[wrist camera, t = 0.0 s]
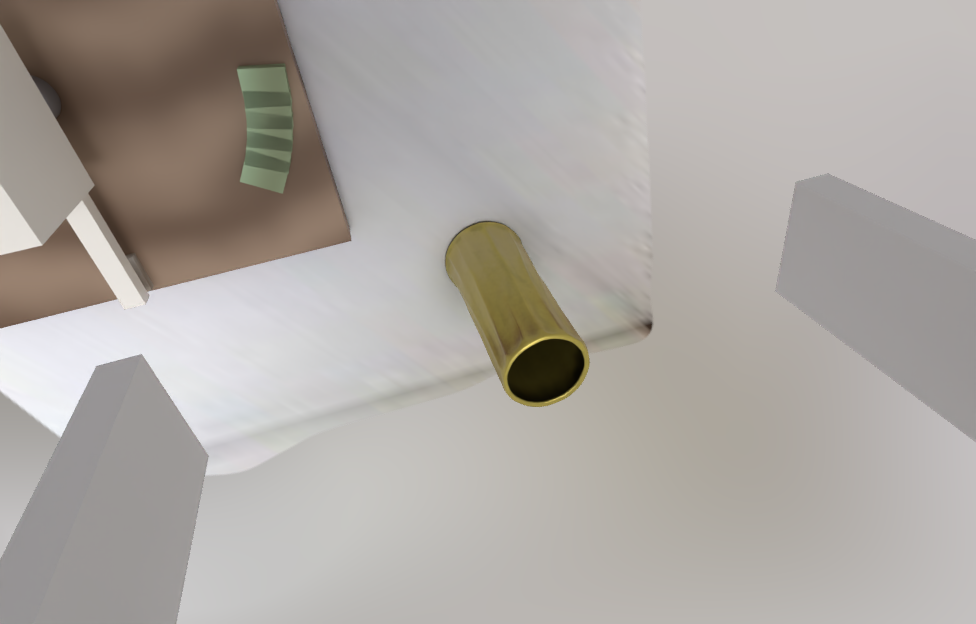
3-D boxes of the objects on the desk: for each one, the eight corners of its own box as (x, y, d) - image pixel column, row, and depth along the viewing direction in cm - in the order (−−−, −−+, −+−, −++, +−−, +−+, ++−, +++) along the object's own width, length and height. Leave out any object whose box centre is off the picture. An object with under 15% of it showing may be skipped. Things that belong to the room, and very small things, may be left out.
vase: (507, 296, 46) (574, 416, 34) (435, 286, 43) (481, 410, 32) (532, 228, 43) (614, 334, 31) (456, 213, 41) (515, 322, 29)
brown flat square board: (-429, -167, 22) (-520, -180, 20) (197, -248, 25) (185, -268, 23) (-22, 319, 36) (-45, 347, 33) (349, 228, 39) (352, 247, 37)
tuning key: (-62, 19, 26) (-228, 55, 18) (21, 4, 26) (-104, 32, 18) (114, 294, 35) (56, 400, 27) (174, 279, 35) (134, 379, 27)
